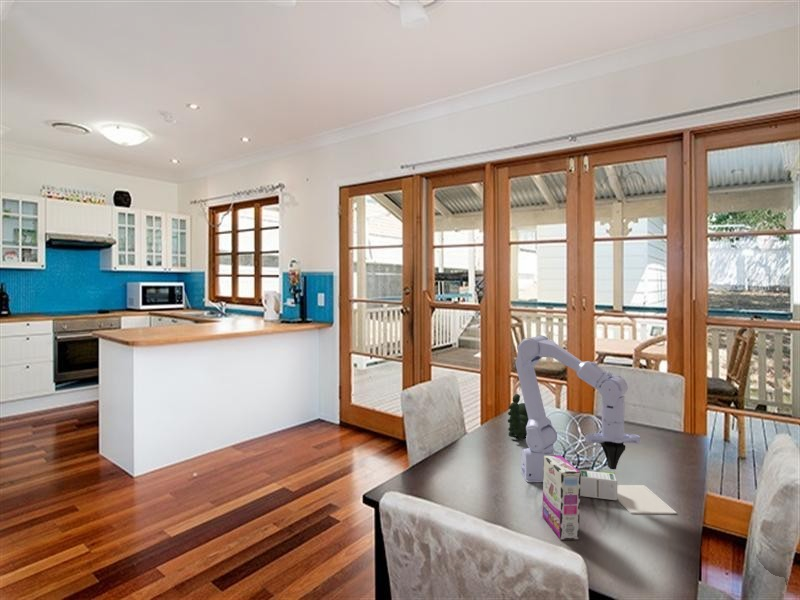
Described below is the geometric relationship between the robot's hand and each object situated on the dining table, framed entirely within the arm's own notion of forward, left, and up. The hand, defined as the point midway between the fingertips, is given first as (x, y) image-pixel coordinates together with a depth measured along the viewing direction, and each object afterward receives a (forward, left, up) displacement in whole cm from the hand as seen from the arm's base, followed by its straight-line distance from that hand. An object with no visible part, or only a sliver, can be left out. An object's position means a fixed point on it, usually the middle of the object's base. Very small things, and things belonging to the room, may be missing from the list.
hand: (611, 467), depth 127 cm
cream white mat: (+7, 0, -9) cm, 12 cm away
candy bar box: (-20, -15, -9) cm, 26 cm away
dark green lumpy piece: (-11, +54, -9) cm, 56 cm away
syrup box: (+2, +1, -6) cm, 6 cm away
